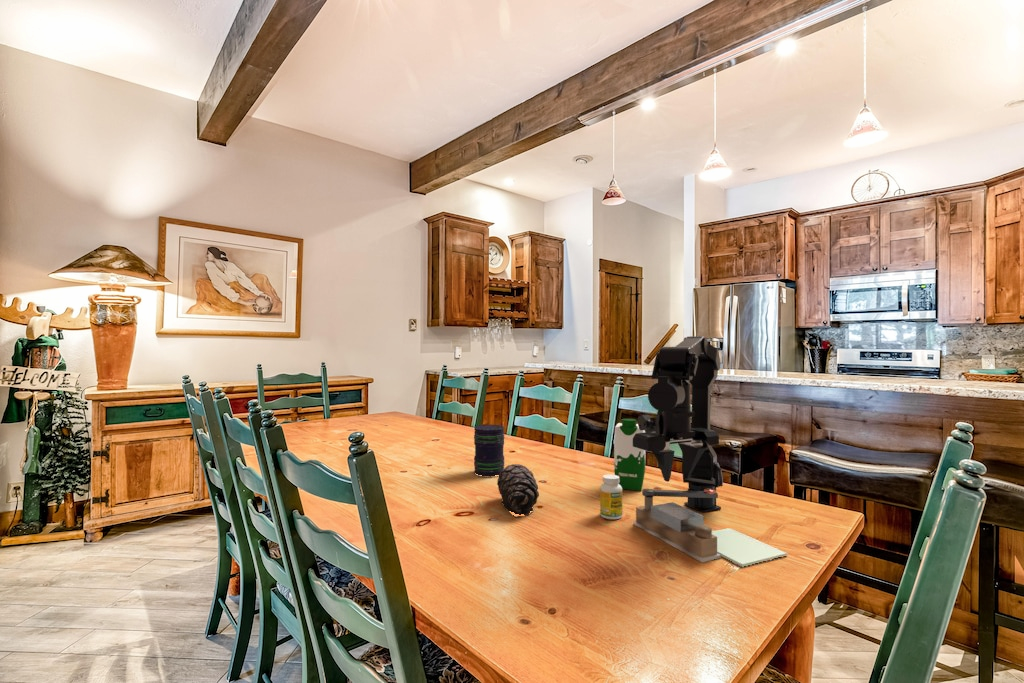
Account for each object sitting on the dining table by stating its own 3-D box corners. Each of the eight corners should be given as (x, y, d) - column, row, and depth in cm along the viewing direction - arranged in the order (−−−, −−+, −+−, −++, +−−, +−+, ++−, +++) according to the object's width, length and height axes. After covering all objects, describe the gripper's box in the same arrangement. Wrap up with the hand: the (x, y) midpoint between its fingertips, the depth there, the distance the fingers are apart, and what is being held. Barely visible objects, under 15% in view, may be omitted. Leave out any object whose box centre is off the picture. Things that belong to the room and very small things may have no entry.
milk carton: (612, 489, 136) (612, 420, 136) (616, 481, 145) (616, 415, 145) (644, 492, 133) (644, 421, 134) (646, 483, 142) (646, 416, 142)
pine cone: (510, 521, 112) (510, 478, 112) (492, 497, 129) (492, 461, 129) (551, 516, 115) (551, 475, 115) (529, 494, 132) (529, 458, 132)
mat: (729, 530, 106) (729, 527, 106) (787, 556, 93) (787, 553, 93) (687, 539, 101) (687, 536, 101) (742, 567, 88) (742, 564, 88)
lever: (643, 496, 107) (643, 490, 107) (641, 492, 110) (641, 486, 110) (718, 499, 105) (718, 492, 105) (714, 495, 108) (714, 488, 108)
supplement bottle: (611, 510, 119) (611, 472, 119) (627, 517, 114) (627, 477, 114) (595, 514, 116) (595, 475, 116) (611, 521, 111) (611, 480, 111)
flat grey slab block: (672, 513, 105) (672, 502, 105) (703, 527, 97) (703, 515, 97) (651, 517, 103) (651, 505, 103) (680, 532, 95) (680, 519, 95)
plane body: (633, 524, 110) (633, 494, 110) (650, 521, 112) (649, 492, 112) (701, 562, 90) (701, 526, 90) (720, 558, 92) (720, 523, 92)
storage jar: (470, 476, 150) (470, 429, 150) (477, 468, 160) (477, 424, 160) (501, 478, 148) (501, 430, 148) (506, 469, 158) (506, 425, 158)
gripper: (683, 400, 111) (683, 466, 111) (616, 403, 104) (617, 475, 104) (720, 405, 101) (721, 478, 101) (650, 410, 94) (650, 489, 94)
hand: (676, 479), depth 100 cm, fingers open, 5 cm apart
